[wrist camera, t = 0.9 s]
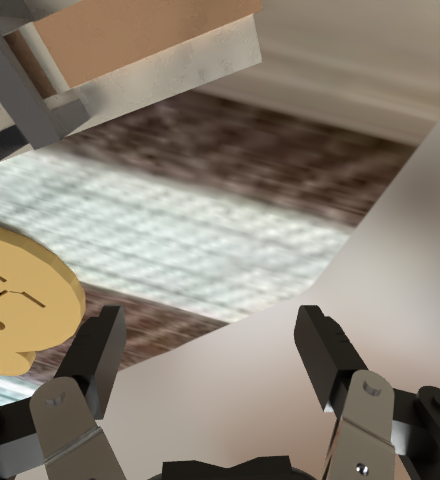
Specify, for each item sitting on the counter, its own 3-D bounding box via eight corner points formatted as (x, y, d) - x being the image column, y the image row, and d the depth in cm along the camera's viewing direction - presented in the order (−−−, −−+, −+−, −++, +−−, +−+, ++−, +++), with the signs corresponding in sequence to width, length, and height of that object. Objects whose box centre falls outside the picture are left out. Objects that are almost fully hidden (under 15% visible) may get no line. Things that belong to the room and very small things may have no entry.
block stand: (-105, 38, 25) (-236, 39, 18) (224, -121, 21) (237, -213, 13) (-3, 162, 32) (-66, 200, 24) (261, 61, 28) (283, 69, 20)
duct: (25, 40, 25) (-10, 40, 21) (238, -56, 22) (247, -77, 18) (58, 94, 28) (33, 104, 24) (252, 15, 25) (263, 10, 21)
